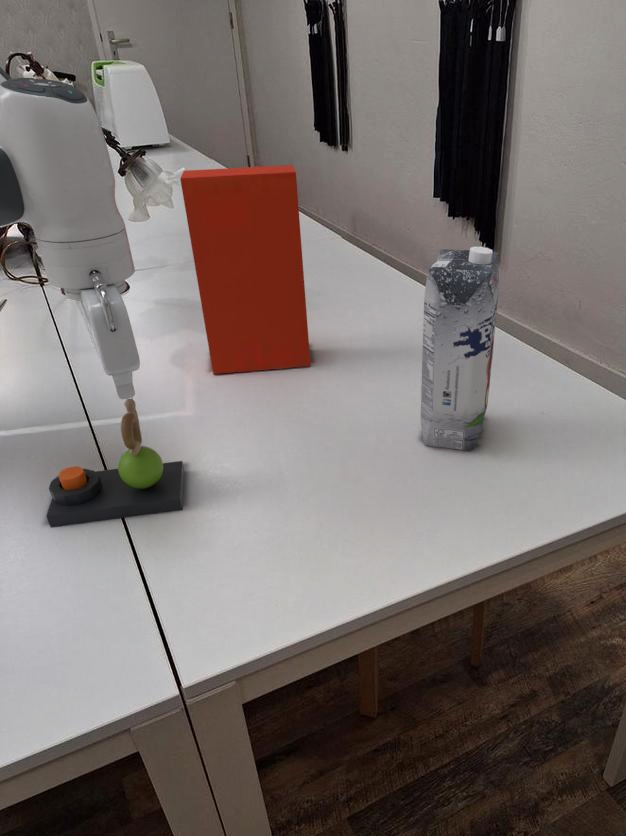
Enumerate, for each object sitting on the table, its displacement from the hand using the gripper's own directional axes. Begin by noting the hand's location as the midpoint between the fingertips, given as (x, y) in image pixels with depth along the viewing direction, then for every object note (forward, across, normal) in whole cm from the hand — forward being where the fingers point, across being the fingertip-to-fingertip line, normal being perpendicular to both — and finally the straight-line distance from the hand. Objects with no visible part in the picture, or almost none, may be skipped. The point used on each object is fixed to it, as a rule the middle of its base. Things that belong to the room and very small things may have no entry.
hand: (119, 379), depth 76 cm
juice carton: (+17, -6, -43) cm, 47 cm away
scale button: (+14, +2, +8) cm, 16 cm away
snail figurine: (+15, 0, 0) cm, 15 cm away
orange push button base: (+17, +1, +4) cm, 17 cm away
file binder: (+17, +32, -27) cm, 45 cm away
